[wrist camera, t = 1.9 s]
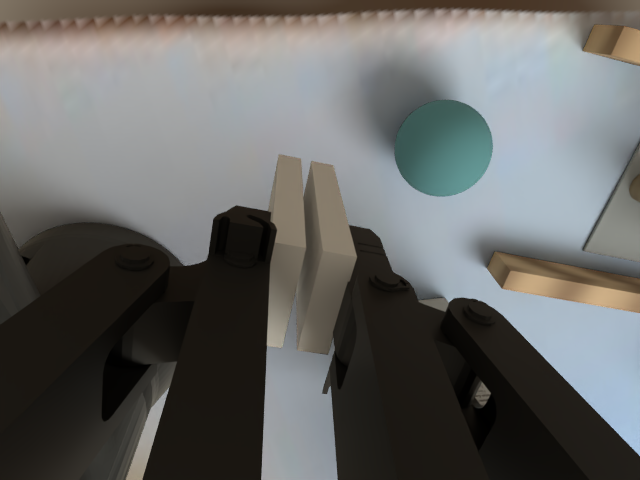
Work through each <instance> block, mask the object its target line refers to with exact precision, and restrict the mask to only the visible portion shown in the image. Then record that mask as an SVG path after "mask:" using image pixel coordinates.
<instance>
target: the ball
mask: <svg viewBox="0 0 640 480" xmlns="http://www.w3.org/2000/svg"><path fill="white" fill-rule="evenodd" d="M492 149H493V143H492V136H491V132H490V129H489V127H488V125H487V123H486V121H485V120H484V118H483V117H482V116H481V115H480V114H479V113H478V112H477V111H476V110H475V109H473V108H472V107H471V106H469V105H467V104H465V103H461V102H458V101H454V100H439V101H434V102H430V103H427V104H425V105H423V106H421V107H419V108H418V109H416V110H415V111H414V112H412V113H411V114H410V115H409V116H408V117H407V119H406V120H405V121H404V122H403V124H402V125H401V127H400V129H399V131H398V134H397V137H396V141H395V160H396V164H397V167H398V169H399V171H400V173H401V175H402V176H403V178H404V179H405V180H406V181H407V182H408V183H409V185H411V186H412V187H413V188H415V189H416V190H418V191H420V192H422V193H424V194H428V195H432V196H451V195H455V194H458V193H461V192H463V191H465V190H467V189H468V188H470V187H472V186H473V185H474V184H475V183H476V182H477V181H478V180H479V179H480V178H481V177H482V176H483V174H484V173H485V171H486V170H487V167H488V165H489V163H490V160H491V156H492Z"/></svg>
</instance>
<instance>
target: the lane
mask: <svg viewBox="0 0 640 480" xmlns="http://www.w3.org/2000/svg"><path fill="white" fill-rule="evenodd" d="M583 51H585V52H588V53H592V54H596V55H600V56H604V57H607V58H611V59H615V60H619V61H622V62H626V63H630V64H634V65H638V66H640V30H637V29H633V28H630V27H626V26H613V25H594V26H593V29H592V31H591V33H590V36H589V38H588V40H587V42H586V45H585V47H584V49H583ZM487 269H488V271H489V272H490V273H491V275H492V276H493V277H494V279H495V280H496V281H497V283H498V284H499V285H500V287H501V288H502V289H506V290H511V291H517V292H523V293H529V294H534V295H540V296H546V297H551V298H557V299H563V300H568V301H574V302H580V303H585V304H591V305H597V306H602V307H608V308H614V309H619V310H625V311H631V312H637V313H640V279H639V278H634V277H628V276H623V275H618V274H612V273H607V272H602V271H596V270H591V269H586V268H580V267H575V266H570V265H564V264H559V263H554V262H549V261H543V260H538V259H533V258H527V257H522V256H517V255H511V254H506V253H501V252H494V254H493V256H492V258H491V261H490V263H489V265H488V268H487Z"/></svg>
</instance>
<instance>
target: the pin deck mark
mask: <svg viewBox="0 0 640 480" xmlns="http://www.w3.org/2000/svg"><path fill="white" fill-rule="evenodd" d="M639 174H640V143H639V145H638V147H637V149H636V151H635V153H634V155H633V157H632V159H631V160H630V162H629V164H628V166H627V168H626V170H625V172H624V174H623V175H622V177H621V179H620V181H619V183H618V185H617V187H616V189H615V191H614V192H613V194H612V196H611V198H610V200H609V202H608V204H607V206H606V207H605V209H604V211H603V213H602V215H601V217H600V219H599V221H598V223H597V224H596V226H595V228H594V230H593V232H592V234H591V236H590V238H589V239H588V241H587V243H586V245H585V247H584V249H583V251H585V252H590V253H595V254H600V255H605V256H611V257H616V258H621V259H626V260H631V261H636V262H640V202H638V201H636V200H634V199H633V198H632V197H631V196H630V193H629V188H630V185H631V183H632V181H633V180H634V178H635V177H636V176H638V175H639Z"/></svg>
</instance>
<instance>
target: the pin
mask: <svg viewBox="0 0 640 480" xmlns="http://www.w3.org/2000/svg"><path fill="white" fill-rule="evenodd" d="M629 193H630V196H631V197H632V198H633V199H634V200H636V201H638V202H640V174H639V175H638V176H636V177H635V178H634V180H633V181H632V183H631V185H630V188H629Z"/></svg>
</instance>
